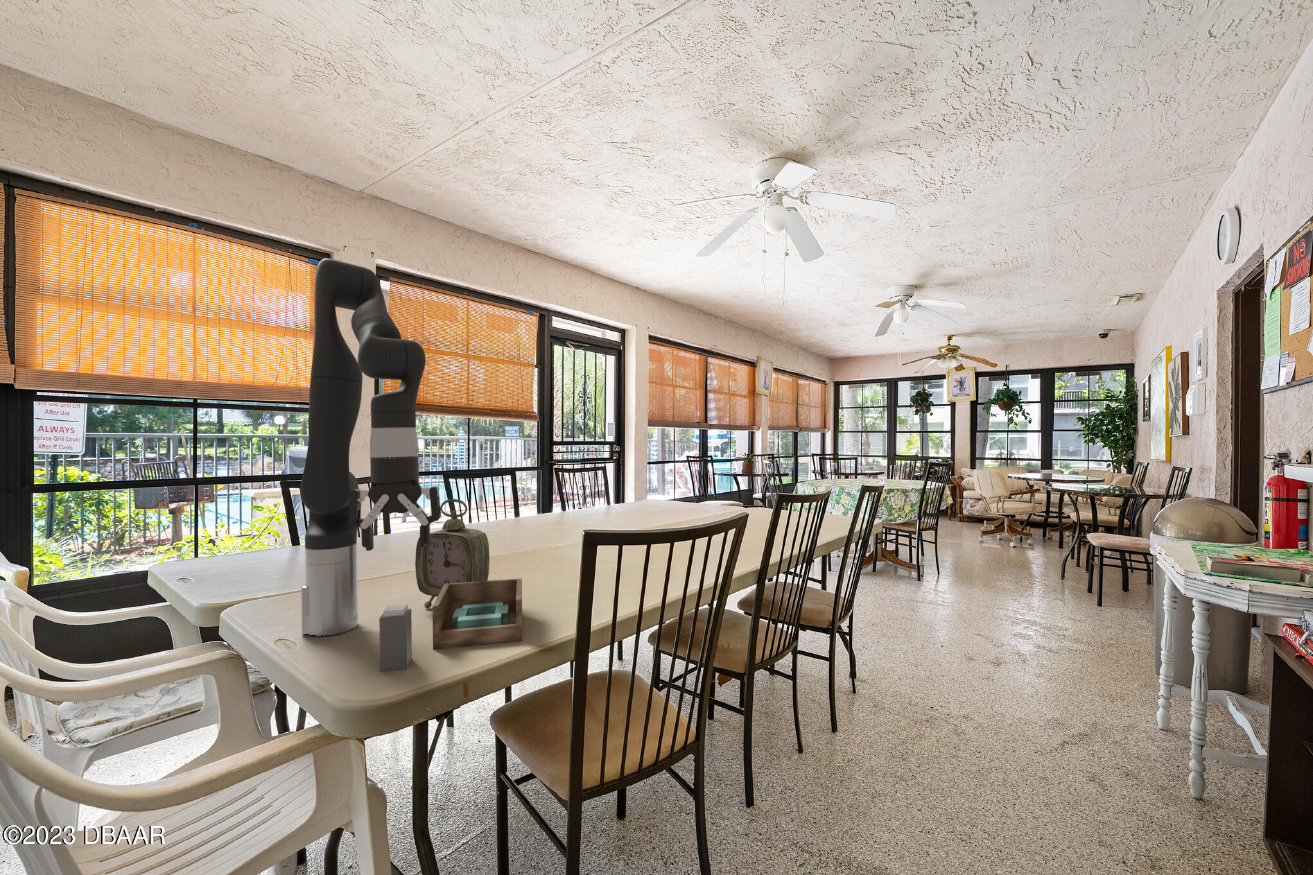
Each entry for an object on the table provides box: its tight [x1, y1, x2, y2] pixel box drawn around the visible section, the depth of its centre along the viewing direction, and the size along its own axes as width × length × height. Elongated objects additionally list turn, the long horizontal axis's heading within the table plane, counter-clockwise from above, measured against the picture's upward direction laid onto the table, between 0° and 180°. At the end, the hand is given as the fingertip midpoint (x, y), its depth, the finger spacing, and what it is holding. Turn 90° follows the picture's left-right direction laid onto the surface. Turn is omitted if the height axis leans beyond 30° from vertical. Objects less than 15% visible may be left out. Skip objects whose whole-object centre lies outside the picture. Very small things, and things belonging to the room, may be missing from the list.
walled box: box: [432, 577, 523, 650], centre depth 111 cm, size 16×16×8 cm
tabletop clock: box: [414, 498, 491, 609], centre depth 127 cm, size 14×9×25 cm, turn 76°
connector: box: [378, 603, 413, 673], centre depth 95 cm, size 4×4×10 cm
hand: (397, 548), depth 95 cm, fingers open, 8 cm apart
